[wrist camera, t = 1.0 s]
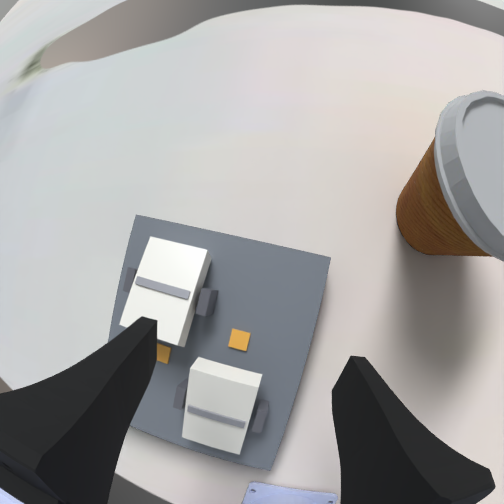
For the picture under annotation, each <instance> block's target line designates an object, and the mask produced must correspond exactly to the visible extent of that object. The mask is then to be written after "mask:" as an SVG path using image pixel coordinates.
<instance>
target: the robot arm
mask: <svg viewBox="0 0 504 504" xmlns="http://www.w3.org/2000/svg"><path fill="white" fill-rule="evenodd" d="M157 322H158V320H154V319H151V318H147V317H143V316H142V317H140V318H138V319H137V320H136V321H135V322H133V323H132V324H131V325H130V326H129V327H127V328H126V329H125V330H124V331H122V332H121V333H120V334H119V335H117V336H116V337H115V338H113V339H112V340H111V341H109V342H108V343H107V344H105V345H104V346H103V347H101V348H100V349H98V350H97V351H95V352H94V353H92V354H91V355H89V356H88V357H86V358H85V359H83V360H82V361H80V362H78V363H77V364H75V365H73V366H72V367H70V368H68V369H66V370H64V371H62V372H60V373H58V374H56V375H54V376H52V377H49V378H47V379H45V380H42V381H40V382H38V383H35V384H32V385H29V386H26V387H23V388H20V389H17V390H13V391H10V392H6V393H1V394H0V504H107V502H108V498H109V492H110V489H111V484H112V480H113V476H114V472H115V469H116V465H117V461H118V458H119V454H120V451H121V448H122V445H123V441H124V438H125V435H126V433H127V430H128V428H129V426H130V423H131V421H132V419H133V417H134V415H135V413H136V410H137V408H138V406H139V404H140V402H141V400H142V398H143V396H144V393H145V391H146V389H147V387H148V385H149V383H150V380H151V377H152V374H153V371H154V368H155V365H156V361H157ZM332 414H333V420H334V427H335V433H336V439H337V445H338V451H339V457H340V466H341V504H476V503H477V502H479V501H480V500H482V499H483V498H485V497H486V496H487V495H489V494H490V493H491V492H492V491H493V490H494V489H495V487H496V486H495V483H494V480H493V477H492V474H491V472H490V470H489V469H488V468H486V467H484V466H482V465H480V464H478V463H475V462H473V461H471V460H470V459H468V458H466V457H465V456H463V455H461V454H460V453H458V452H456V451H455V450H453V449H452V448H451V447H449V446H448V445H446V444H445V443H444V442H443V441H441V440H440V439H439V438H437V437H436V436H435V435H434V434H433V433H431V432H430V431H429V430H428V429H427V428H426V427H425V426H424V425H423V424H422V423H421V422H419V421H418V420H417V419H416V418H415V416H414V415H413V414H412V413H411V412H410V411H409V410H408V409H407V408H406V407H405V406H404V404H403V403H402V402H401V401H400V400H399V399H398V397H397V396H396V395H395V394H394V393H393V391H392V390H391V389H390V388H389V386H388V385H387V384H386V383H385V381H384V380H383V379H382V378H381V376H380V375H379V374H378V372H377V371H376V370H375V369H374V367H373V366H372V365H371V364H370V362H369V361H368V360H367V359H366V358H365V357H358V356H350V358H349V360H348V362H347V364H346V366H345V368H344V369H343V371H342V373H341V375H340V377H339V379H338V380H337V382H336V384H335V386H334V388H333V389H332ZM251 489H254V490H255V491H252V490H251ZM337 499H338V497H337V495H336V494H334V493H324V492H315V491H307V490H299V489H293V488H286V487H280V486H275V485H270V484H265V483H260V482H251V483H249V486H248V488H247V491H246V494H245V497H244V499H243V502H242V504H335V503H336V501H337ZM329 501H332V502H329Z"/></svg>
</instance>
